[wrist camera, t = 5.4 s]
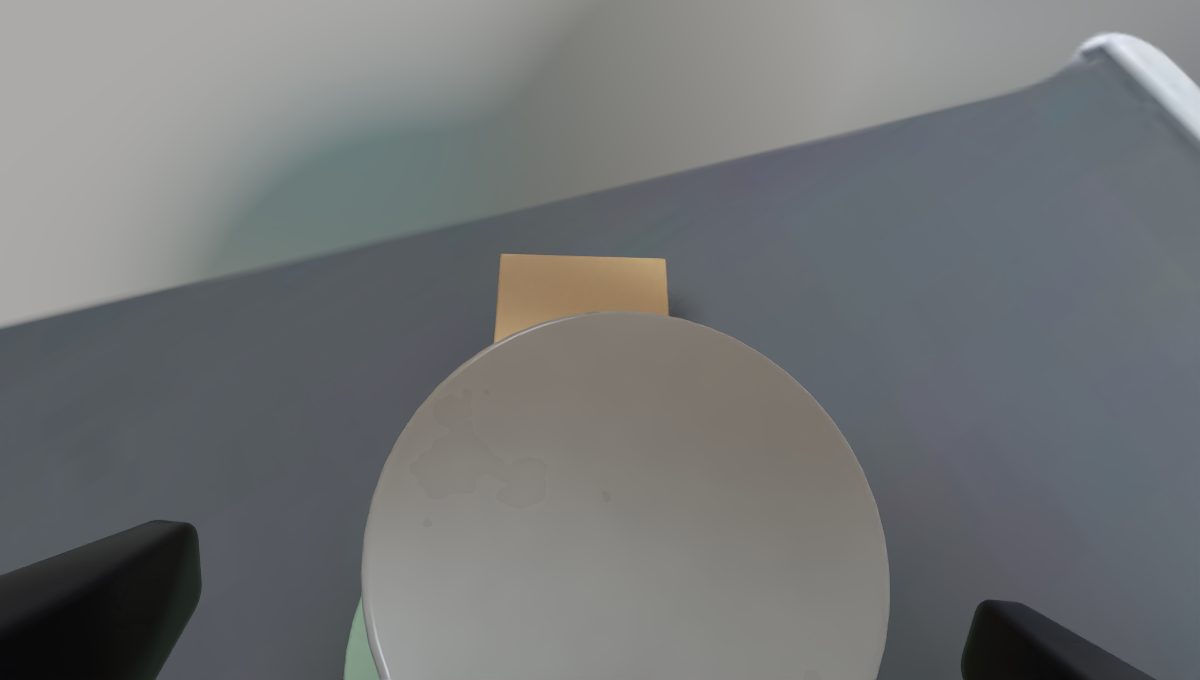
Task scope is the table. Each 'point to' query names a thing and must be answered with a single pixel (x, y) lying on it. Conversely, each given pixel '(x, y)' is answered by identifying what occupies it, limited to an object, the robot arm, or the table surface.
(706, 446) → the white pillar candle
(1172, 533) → the table surface
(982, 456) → the table surface
